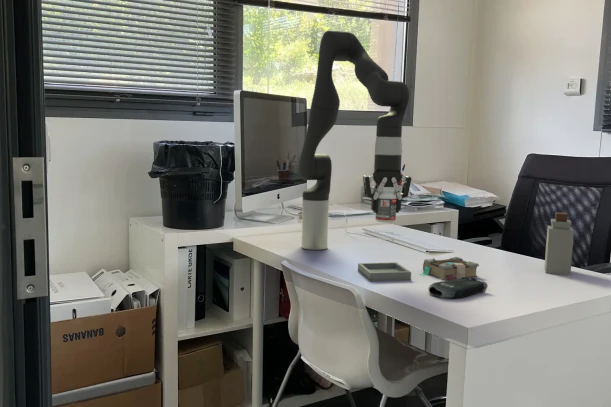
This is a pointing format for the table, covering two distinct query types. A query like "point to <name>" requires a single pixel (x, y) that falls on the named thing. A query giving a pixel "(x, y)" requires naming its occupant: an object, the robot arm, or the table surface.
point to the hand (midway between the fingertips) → (385, 212)
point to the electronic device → (458, 287)
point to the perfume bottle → (559, 245)
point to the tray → (384, 271)
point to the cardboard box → (449, 268)
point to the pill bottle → (386, 205)
